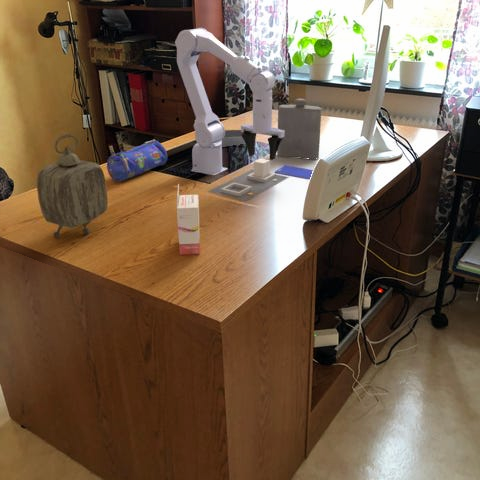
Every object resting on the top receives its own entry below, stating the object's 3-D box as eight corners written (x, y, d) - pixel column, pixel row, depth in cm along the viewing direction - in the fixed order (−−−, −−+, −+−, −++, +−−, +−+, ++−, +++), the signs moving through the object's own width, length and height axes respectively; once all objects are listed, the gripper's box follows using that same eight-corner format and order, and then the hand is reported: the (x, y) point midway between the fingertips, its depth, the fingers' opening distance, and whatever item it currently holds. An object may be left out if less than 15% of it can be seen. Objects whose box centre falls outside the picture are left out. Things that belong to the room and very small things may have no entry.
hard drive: (274, 171, 174) (309, 177, 168) (285, 164, 180) (320, 170, 174) (274, 176, 174) (309, 182, 169) (285, 169, 181) (319, 175, 175)
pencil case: (151, 162, 187) (149, 135, 183) (171, 166, 183) (169, 138, 179) (106, 180, 170) (102, 151, 166) (126, 185, 166) (122, 155, 162)
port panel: (207, 192, 160) (207, 188, 159) (251, 170, 177) (251, 166, 177) (246, 202, 152) (246, 197, 152) (288, 178, 170) (288, 174, 170)
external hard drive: (253, 147, 204) (253, 136, 202) (203, 150, 200) (202, 140, 198) (245, 138, 215) (245, 128, 214) (197, 141, 212) (197, 131, 210)
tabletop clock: (88, 218, 143) (75, 125, 132) (114, 225, 139) (102, 130, 128) (45, 239, 132) (27, 139, 121) (72, 247, 128) (55, 145, 117)
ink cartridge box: (200, 254, 124) (198, 195, 118) (179, 255, 124) (175, 196, 117) (200, 238, 132) (197, 181, 125) (179, 239, 132) (176, 182, 125)
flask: (320, 155, 192) (323, 98, 183) (317, 160, 187) (320, 102, 178) (279, 152, 196) (280, 96, 187) (275, 156, 191) (276, 99, 182)
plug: (253, 178, 169) (253, 161, 167) (260, 174, 172) (260, 158, 170) (263, 180, 168) (263, 163, 165) (270, 176, 171) (270, 160, 168)
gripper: (234, 113, 162) (235, 156, 168) (276, 119, 154) (275, 164, 160) (247, 108, 167) (248, 151, 173) (288, 114, 159) (287, 158, 165)
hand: (262, 157), depth 167 cm, fingers open, 7 cm apart
